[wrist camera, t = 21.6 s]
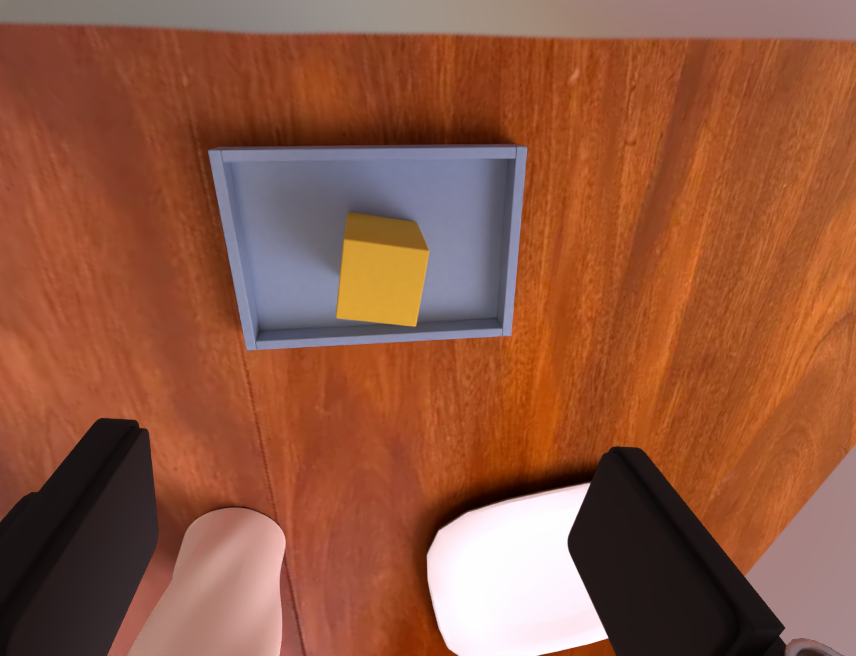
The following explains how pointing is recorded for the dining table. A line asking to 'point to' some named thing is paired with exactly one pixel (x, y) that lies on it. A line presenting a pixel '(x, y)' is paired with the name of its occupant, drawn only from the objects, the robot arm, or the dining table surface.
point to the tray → (379, 196)
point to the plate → (512, 578)
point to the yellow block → (381, 270)
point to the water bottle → (221, 591)
